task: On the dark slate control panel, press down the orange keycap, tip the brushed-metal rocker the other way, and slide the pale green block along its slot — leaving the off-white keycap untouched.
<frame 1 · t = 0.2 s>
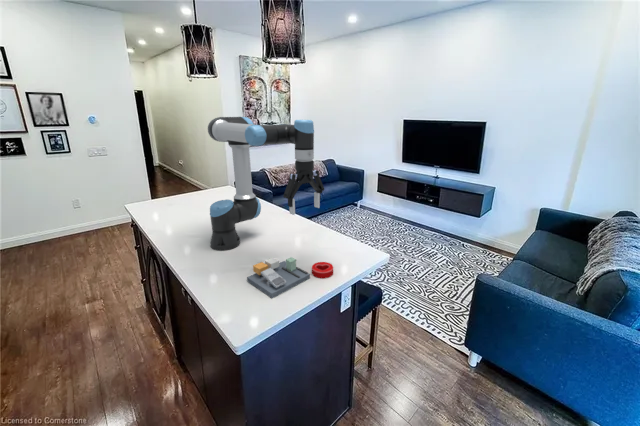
hand: (305, 210, 124), 28 cm above the kitchen island, fingers open, 13 cm apart
button b: (272, 263, 126), point 5 cm above the kitchen island, slide at 0.0 cm
decorative ornament: (322, 273, 130), on the kitchen island
rocker: (273, 277, 117), point 5 cm above the kitchen island, hinge at 13.0°
button a: (260, 268, 122), point 5 cm above the kitchen island, slide at 0.0 cm
pale green block: (291, 264, 127), point 5 cm above the kitchen island, slide at 0.0 cm
panel: (278, 279, 124), on the kitchen island
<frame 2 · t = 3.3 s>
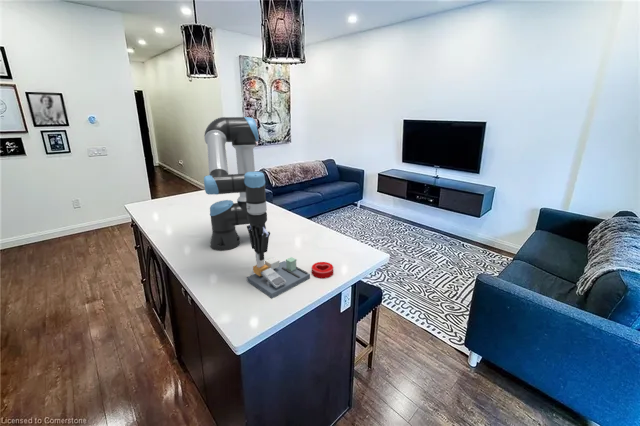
hand: (260, 266, 122), 6 cm above the kitchen island, fingers closed
button a: (260, 269, 122), point 5 cm above the kitchen island, slide at 0.4 cm, touching gripper
everything else where it was.
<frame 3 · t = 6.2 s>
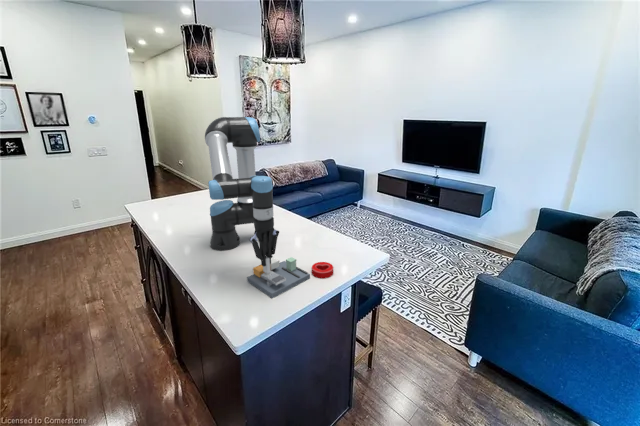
hand: (266, 271, 119), 5 cm above the kitchen island, fingers closed
rocker: (273, 277, 117), point 5 cm above the kitchen island, hinge at -3.5°, touching gripper
button a: (260, 270, 123), point 4 cm above the kitchen island, slide at 1.1 cm
everything else where it was.
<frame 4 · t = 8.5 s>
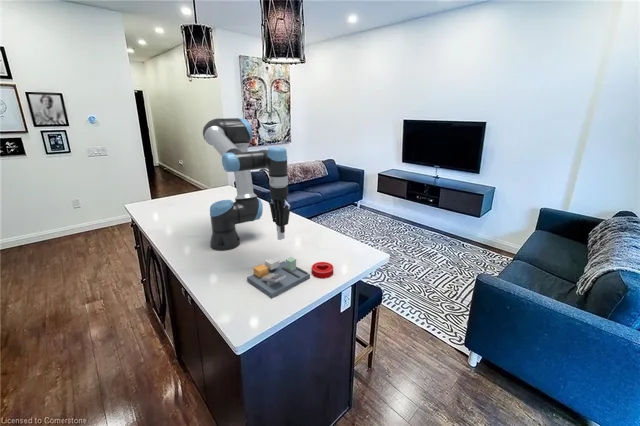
hand: (281, 238, 128), 15 cm above the kitchen island, fingers closed
rocker: (273, 277, 117), point 5 cm above the kitchen island, hinge at -18.5°
everything else where it was.
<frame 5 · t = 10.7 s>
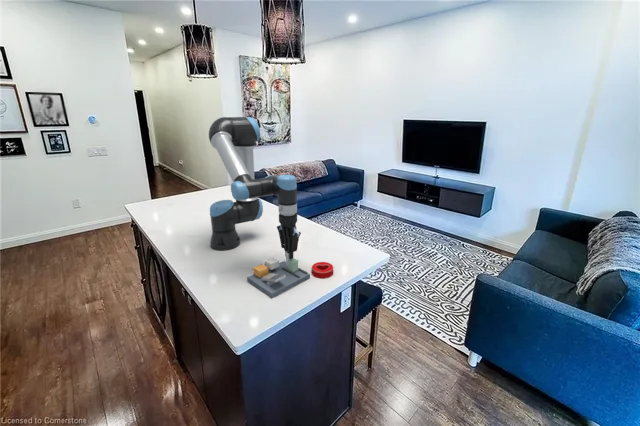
hand: (289, 264, 128), 4 cm above the kitchen island, fingers closed
pale green block: (293, 265, 126), point 5 cm above the kitchen island, slide at 1.3 cm, touching gripper
everything else where it was.
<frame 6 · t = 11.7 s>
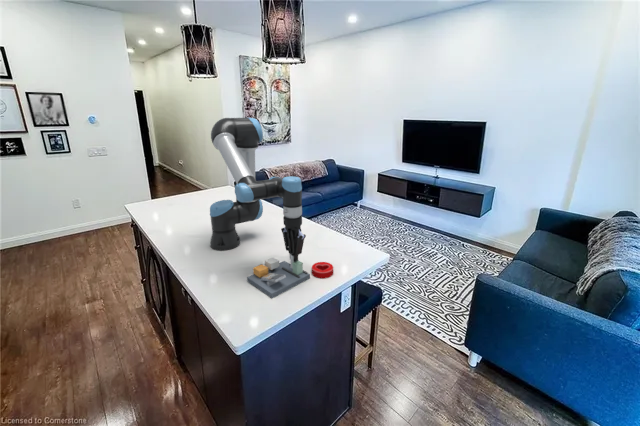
hand: (294, 267, 126), 4 cm above the kitchen island, fingers closed
pale green block: (297, 267, 124), point 5 cm above the kitchen island, slide at 4.1 cm, touching gripper
everything else where it was.
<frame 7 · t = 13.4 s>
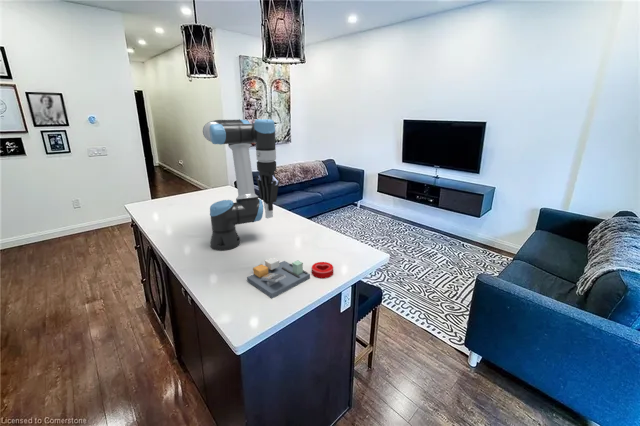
hand: (269, 217, 122), 25 cm above the kitchen island, fingers closed
pale green block: (297, 267, 124), point 5 cm above the kitchen island, slide at 4.1 cm
everything else where it was.
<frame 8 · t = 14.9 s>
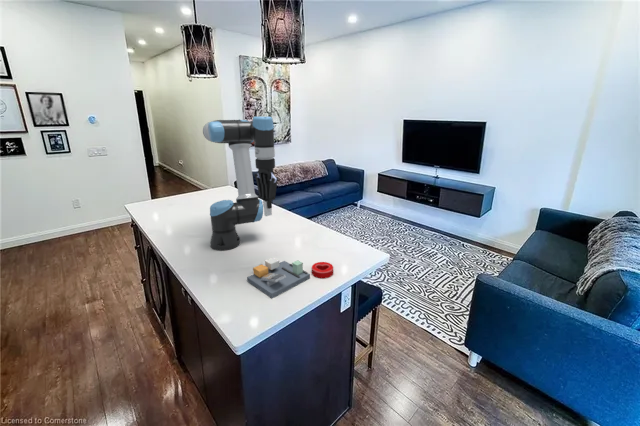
hand: (268, 215, 122), 26 cm above the kitchen island, fingers closed
nothing on the kitchen island moved.
at the end: button a slide at 1.1 cm; rocker at -18° (first picture: +13°); pale green block slide at 4.1 cm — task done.
